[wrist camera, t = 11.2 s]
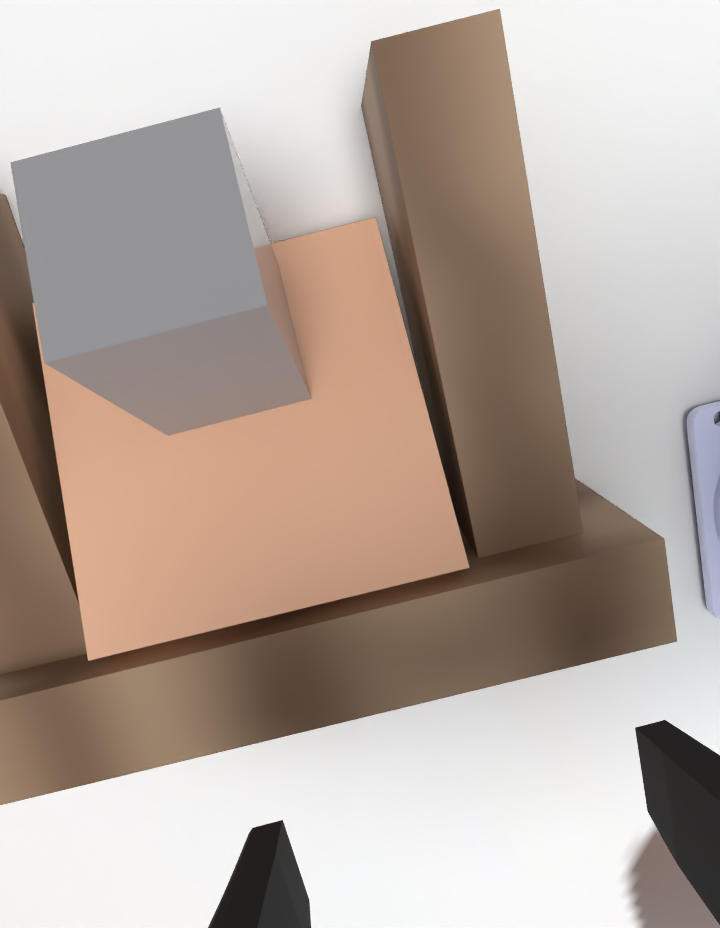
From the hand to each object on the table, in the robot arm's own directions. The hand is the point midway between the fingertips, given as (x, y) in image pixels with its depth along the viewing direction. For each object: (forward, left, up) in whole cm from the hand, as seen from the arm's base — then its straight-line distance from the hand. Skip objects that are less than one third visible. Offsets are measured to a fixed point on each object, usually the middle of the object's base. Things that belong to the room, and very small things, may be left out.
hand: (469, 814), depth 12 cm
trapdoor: (+3, -7, -8) cm, 11 cm away
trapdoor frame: (+3, -8, -10) cm, 14 cm away
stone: (+3, -10, -7) cm, 13 cm away
